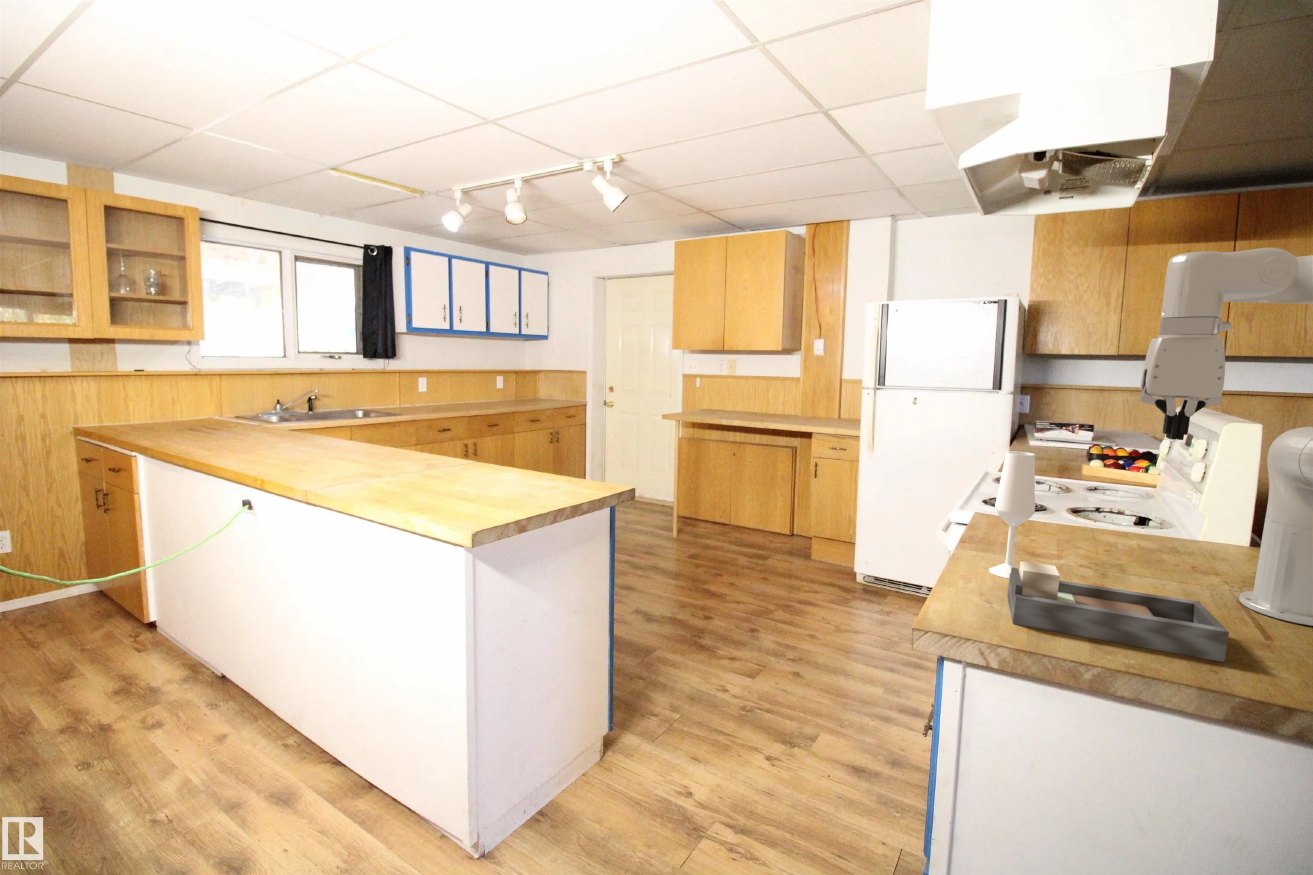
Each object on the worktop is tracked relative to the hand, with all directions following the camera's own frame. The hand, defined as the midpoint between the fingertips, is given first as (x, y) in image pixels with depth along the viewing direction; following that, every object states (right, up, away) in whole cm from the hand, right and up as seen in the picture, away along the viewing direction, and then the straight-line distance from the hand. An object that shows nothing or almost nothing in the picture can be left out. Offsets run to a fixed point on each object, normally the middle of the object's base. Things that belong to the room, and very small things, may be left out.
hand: (1174, 438), depth 104 cm
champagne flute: (-19, -27, +16) cm, 37 cm away
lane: (-17, -30, -7) cm, 35 cm away
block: (-25, -26, -3) cm, 37 cm away
